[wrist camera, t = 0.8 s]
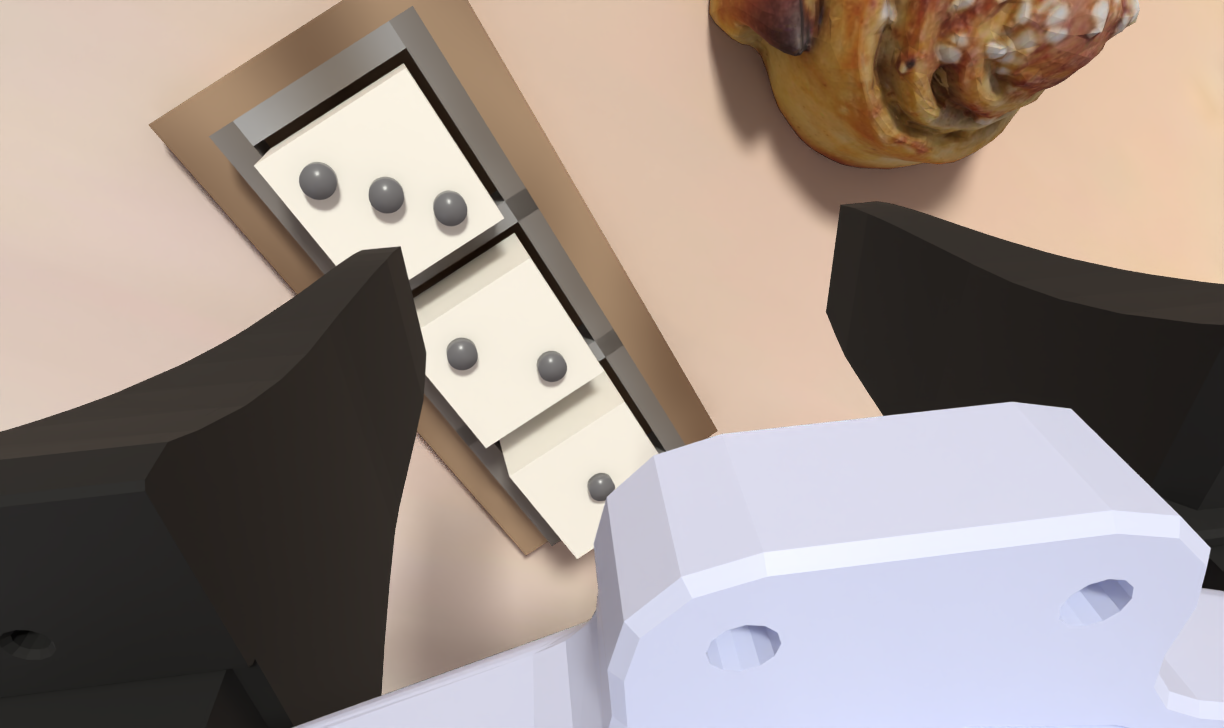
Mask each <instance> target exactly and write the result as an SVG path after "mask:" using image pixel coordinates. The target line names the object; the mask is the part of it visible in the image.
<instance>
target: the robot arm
mask: <svg viewBox="0 0 1224 728" xmlns="http://www.w3.org/2000/svg"><path fill="white" fill-rule="evenodd" d="M826 313H827V315H828V318H829V320H830V323H831V325H832V328H833V330H834V333H835V335H836V337H837V340H838V342H839V344H840V346H841V348H842V351H843V353H844V355H845V357H846V359H847V360H848V362H849V363H850V365H851V367H852V368H853V370H854V371H855V373H856V374H857V376H858V378H859V379H860V381H861V382H862V384H863V385H864V387H865V389H866V390H867V392H868V393H869V395H870V396H871V398H872V399H873V401H874V402H875V404H876V405H877V407H878V408H879V410H880V411H881V413H882V414H883V416H879V417H870V418H862V419H853V420H843V421H835V422H826V423H817V424H808V425H799V426H790V427H781V428H772V429H763V430H754V431H745V432H736V433H727V434H720V435H717V436H714V437H711V438H707V439H704V440H701V441H698V442H695V443H692V444H688V445H685V446H682V447H679V448H676V449H673V450H669V451H666V452H663V453H660V454H657V455H654V456H652V457H651V458H650V459H649V460H648V461H647V462H646V463H645V464H643V465H642V466H641V467H640V468H639V469H638V470H637V471H635V472H634V473H633V474H632V475H631V476H630V477H629V478H628V479H626V480H625V481H624V482H623V483H622V484H621V485H620V486H619V487H617V488H616V489H615V490H614V491H613V492H612V493H611V494H609V495H608V496H607V498H606V501H605V505H604V508H603V512H602V515H601V519H600V523H599V526H598V530H597V533H596V537H595V540H594V553H595V563H596V573H597V583H598V596H597V606H596V611H595V613H594V615H593V616H592V618H591V619H590V620H588V621H587V622H584V623H582V624H579V625H576V626H573V627H571V628H568V629H565V630H562V631H559V632H557V633H554V634H551V635H548V636H546V637H543V638H540V639H537V640H534V641H532V642H529V643H526V644H523V645H521V646H518V647H515V648H512V649H509V650H507V651H504V652H501V653H498V654H495V655H493V656H490V657H487V658H484V659H482V660H479V661H476V662H473V663H470V664H468V665H465V666H462V667H459V668H457V669H454V670H451V671H448V672H445V673H443V674H440V675H437V676H434V677H432V678H429V679H426V680H423V681H420V682H418V683H415V684H412V685H409V686H406V687H404V688H401V689H398V690H395V691H393V692H390V693H387V694H384V695H381V693H382V677H383V660H384V644H385V632H386V620H387V608H388V595H389V584H390V574H391V564H392V555H393V545H394V536H395V528H396V523H397V517H398V511H399V506H400V502H401V497H402V493H403V489H404V484H405V480H406V476H407V471H408V467H409V463H410V459H411V454H412V450H413V446H414V441H415V437H416V432H417V428H418V424H419V419H420V415H421V410H422V405H423V399H424V387H425V372H426V349H425V344H424V340H423V336H422V332H421V328H420V324H419V320H418V316H417V312H416V307H415V303H414V299H413V295H412V291H411V287H410V283H409V279H408V274H407V270H406V266H405V262H404V258H403V254H402V250H401V246H398V247H387V248H377V249H366V250H361V251H359V252H357V253H355V254H353V255H352V256H350V257H348V258H347V259H345V260H344V261H343V262H341V263H340V264H338V265H337V266H336V267H334V268H333V269H331V270H330V271H329V272H327V273H326V274H325V275H323V276H322V277H321V278H319V279H318V280H317V281H315V282H314V283H312V284H311V285H310V286H308V287H307V288H306V289H304V290H303V291H302V292H300V293H299V294H298V295H296V296H295V297H293V298H292V299H291V300H289V301H288V302H286V303H285V304H283V305H282V306H280V307H279V308H277V309H276V310H274V311H273V312H271V313H270V314H268V315H267V316H265V317H264V318H262V319H261V320H259V321H258V322H256V323H255V324H253V325H252V326H250V327H249V328H247V329H246V330H244V331H242V332H241V333H239V334H237V335H236V336H234V337H232V338H230V339H229V340H227V341H225V342H223V343H222V344H220V345H218V346H216V347H214V348H212V349H211V350H209V351H207V352H205V353H203V354H201V355H199V356H197V357H195V358H193V359H192V360H190V361H187V362H185V363H183V364H181V365H179V366H177V367H175V368H173V369H170V370H168V371H166V372H163V373H161V374H159V375H156V376H154V377H152V378H150V379H147V380H145V381H143V382H140V383H138V384H136V385H133V386H131V387H129V388H127V389H124V390H122V391H120V392H117V393H115V394H112V395H110V396H107V397H104V398H102V399H99V400H96V401H93V402H91V403H88V404H85V405H82V406H80V407H77V408H74V409H71V410H68V411H65V412H62V413H59V414H56V415H53V416H50V417H47V418H44V419H41V420H38V421H35V422H32V423H29V424H25V425H22V426H19V427H16V428H12V429H9V430H5V431H2V432H0V728H1224V284H1216V283H1207V282H1199V281H1192V280H1185V279H1178V278H1171V277H1164V276H1157V275H1150V274H1145V273H1139V272H1133V271H1127V270H1122V269H1117V268H1112V267H1108V266H1103V265H1098V264H1094V263H1089V262H1084V261H1080V260H1075V259H1071V258H1067V257H1063V256H1059V255H1055V254H1051V253H1047V252H1044V251H1040V250H1037V249H1033V248H1030V247H1026V246H1023V245H1019V244H1016V243H1013V242H1009V241H1006V240H1003V239H1000V238H997V237H993V236H990V235H987V234H984V233H981V232H978V231H975V230H972V229H969V228H966V227H963V226H960V225H957V224H954V223H952V222H949V221H946V220H943V219H940V218H937V217H934V216H931V215H928V214H925V213H922V212H919V211H915V210H912V209H909V208H905V207H902V206H898V205H894V204H890V203H884V202H866V203H855V204H845V205H841V206H840V213H839V220H838V228H837V235H836V242H835V250H834V257H833V265H832V272H831V279H830V287H829V294H828V302H827V309H826Z"/></svg>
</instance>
